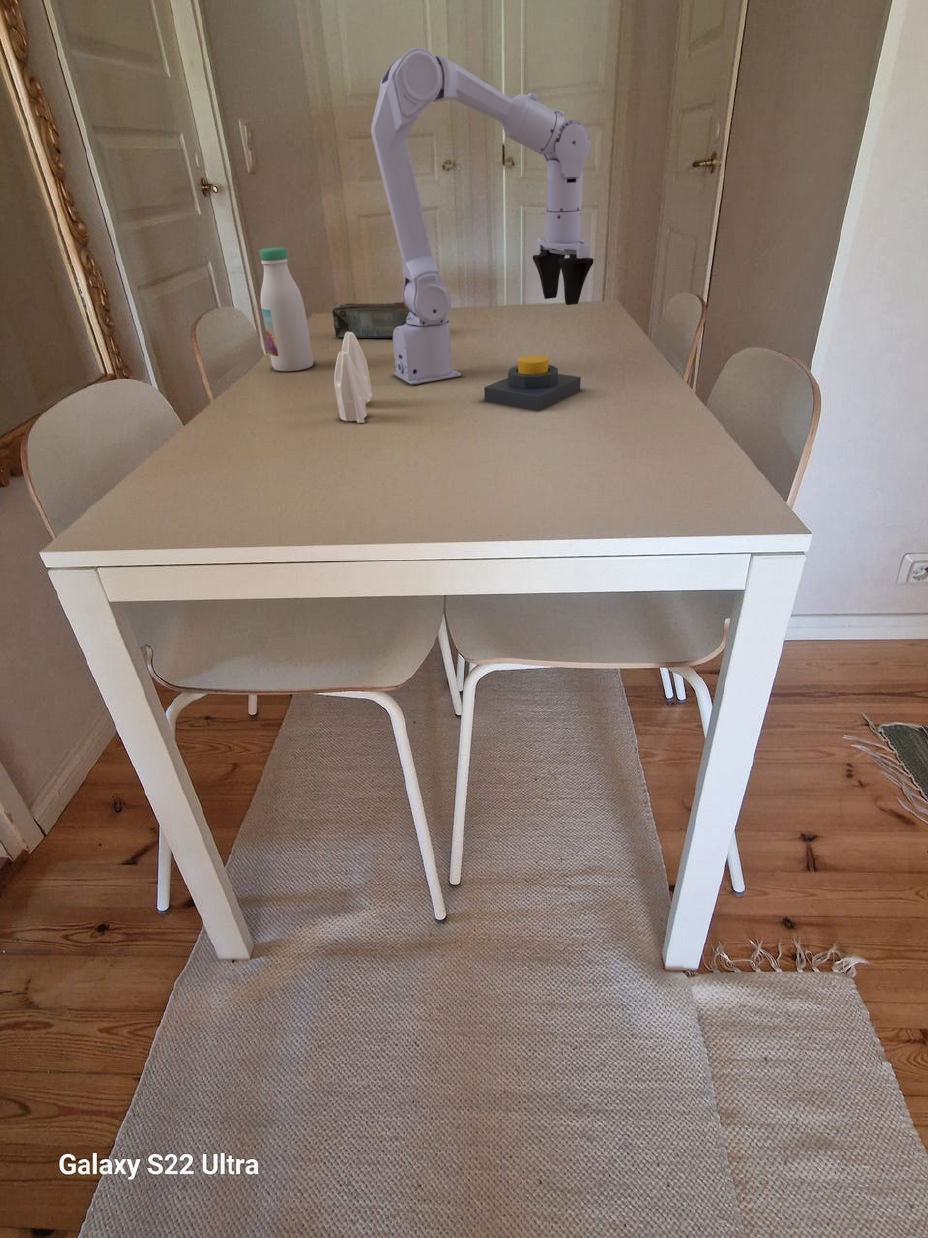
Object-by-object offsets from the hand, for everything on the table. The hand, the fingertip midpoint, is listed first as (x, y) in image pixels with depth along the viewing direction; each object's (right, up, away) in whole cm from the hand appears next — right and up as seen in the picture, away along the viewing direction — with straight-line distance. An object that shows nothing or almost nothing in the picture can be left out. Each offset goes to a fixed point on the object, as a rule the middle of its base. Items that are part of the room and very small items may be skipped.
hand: (560, 301), depth 120 cm
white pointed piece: (-33, -24, -14) cm, 43 cm away
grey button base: (-6, -21, -12) cm, 25 cm away
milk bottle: (-49, -8, +11) cm, 51 cm away
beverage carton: (-35, +7, +31) cm, 48 cm away
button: (-6, -18, -14) cm, 24 cm away
